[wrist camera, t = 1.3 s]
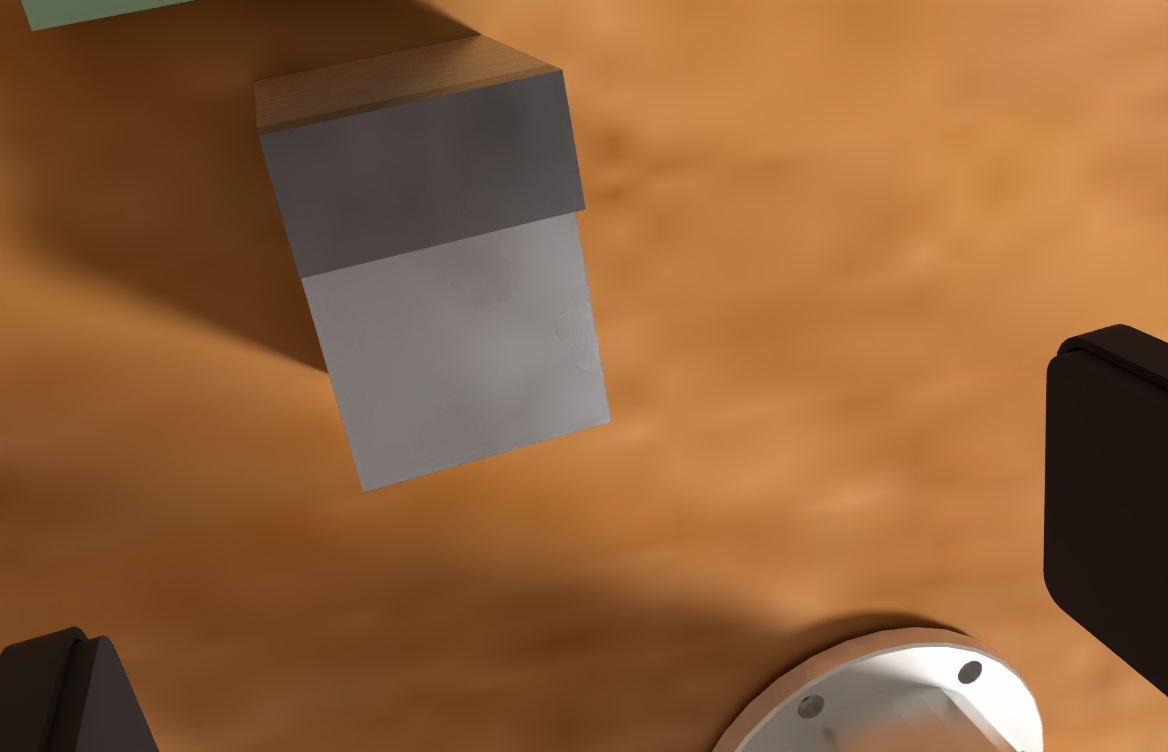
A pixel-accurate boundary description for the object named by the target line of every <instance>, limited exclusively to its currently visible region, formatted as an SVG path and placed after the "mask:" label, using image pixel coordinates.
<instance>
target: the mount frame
mask: <svg viewBox="0 0 1168 752" xmlns="http://www.w3.org/2000/svg"><path fill="white" fill-rule="evenodd" d="M188 1H193V0H21V2H22V5H23V8H24V10H25V13H26V16H27V19H28V21H29V24H30V27H31V30H32V31H36V30H41V29H46V28H52V27H57V26H62V25H67V24H73V23H78V22H83V21H88V20H94V19H99V18H104V17H109V16H115V15H120V14H125V13H130V12H136V11H141V10H146V9H151V8H157V7H162V6H167V5H172V4H177V3H183V2H188Z"/></svg>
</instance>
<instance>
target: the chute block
mask: <svg viewBox="0 0 1168 752" xmlns="http://www.w3.org/2000/svg"><path fill="white" fill-rule="evenodd" d="M253 85H254V97H255V108H256V120H257V132H258V138H259V142H260V145H261V148H262V152H263V155H264V159H265V162H266V166H267V169H268V173H269V176H270V179H271V183H272V186H273V190H274V193H275V197H276V200H277V203H278V207H279V210H280V214H281V217H282V221H283V224H284V227H285V231H286V234H287V238H288V241H289V245H290V248H291V252H292V255H293V258H294V262H295V265H296V269H297V272H298V276H299V279H301V280H302V284H303V287H304V291H305V294H306V298H307V301H308V304H309V308H310V311H311V315H312V318H313V322H314V325H315V329H316V332H317V335H318V339H319V342H320V346H321V349H322V353H323V356H324V360H325V363H326V366H327V370H328V373H329V377H330V380H331V384H332V387H333V391H334V394H335V398H336V401H337V404H338V408H339V411H340V415H341V418H342V422H343V425H344V429H345V432H346V435H347V439H348V442H349V446H350V449H351V453H352V456H353V460H354V463H355V466H356V470H357V473H358V477H359V480H360V484H361V487H362V491H363V492H367V491H370V490H374V489H377V488H381V487H384V486H388V485H391V484H395V483H398V482H402V481H405V480H409V479H412V478H416V477H419V476H423V475H426V474H430V473H433V472H437V471H440V470H444V469H447V468H451V467H455V466H458V465H462V464H465V463H469V462H472V461H476V460H479V459H483V458H486V457H490V456H493V455H497V454H500V453H504V452H507V451H511V450H514V449H518V448H521V447H525V446H528V445H532V444H535V443H539V442H542V441H546V440H549V439H553V438H556V437H560V436H563V435H567V434H570V433H574V432H577V431H581V430H584V429H588V428H591V427H595V426H598V425H602V424H605V423H609V422H611V418H610V412H609V406H608V401H607V395H606V389H605V383H604V377H603V371H602V366H601V360H600V354H599V348H598V342H597V336H596V330H595V325H594V319H593V313H592V307H591V301H590V295H589V290H588V284H587V278H586V272H585V266H584V260H583V254H582V249H581V243H580V237H579V231H578V225H577V219H576V214H575V212H576V211H581V210H585V203H584V197H583V191H582V185H581V179H580V173H579V167H578V161H577V155H576V149H575V143H574V137H573V131H572V125H571V119H570V113H569V107H568V101H567V95H566V89H565V83H564V77H563V71H562V70H561V69H559V68H557V67H555V66H552V65H550V64H548V63H546V62H543V61H541V60H539V59H536V58H534V57H532V56H530V55H527V54H525V53H523V52H521V51H518V50H516V49H514V48H512V47H509V46H507V45H505V44H502V43H500V42H498V41H496V40H493V39H491V38H489V37H487V36H484V35H482V34H481V35H476V36H471V37H466V38H461V39H456V40H452V41H447V42H442V43H437V44H432V45H427V46H423V47H418V48H413V49H408V50H403V51H398V52H394V53H389V54H384V55H379V56H374V57H370V58H365V59H360V60H355V61H350V62H345V63H341V64H336V65H331V66H326V67H321V68H316V69H312V70H307V71H302V72H297V73H292V74H287V75H283V76H278V77H273V78H268V79H263V80H258V81H254V82H253Z"/></svg>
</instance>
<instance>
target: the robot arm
mask: <svg viewBox="0 0 1168 752" xmlns="http://www.w3.org/2000/svg"><path fill="white" fill-rule="evenodd" d="M1043 572H1044V580H1045V583H1046V587H1047V589H1048V591H1049V593H1050V595H1051V597H1052V598H1053V600H1054V601H1055V603H1056V604H1057V605H1058V606H1059V607H1060V608H1061V609H1062V610H1063V611H1064V612H1066V613H1067V614H1068V615H1069V616H1070V617H1072V618H1073V619H1074V620H1075V621H1076V622H1078V623H1079V624H1080V625H1081V626H1083V627H1084V628H1085V629H1086V630H1087V631H1089V632H1090V633H1091V634H1092V635H1093V636H1095V637H1096V638H1097V639H1098V640H1099V641H1101V642H1102V643H1103V644H1104V645H1106V646H1107V647H1108V648H1109V649H1110V650H1112V651H1113V652H1114V653H1115V654H1116V655H1118V656H1119V657H1120V658H1121V659H1122V660H1124V661H1125V662H1126V663H1127V664H1129V665H1130V666H1131V667H1132V668H1133V669H1135V670H1136V671H1137V672H1138V673H1139V674H1141V675H1142V676H1143V677H1144V678H1146V679H1147V680H1148V681H1149V682H1150V683H1152V684H1153V685H1154V686H1155V687H1156V688H1158V689H1159V690H1160V691H1161V692H1162V693H1164V694H1165V695H1166V696H1167V697H1168V343H1167V342H1164V341H1162V340H1160V339H1158V338H1155V337H1153V336H1151V335H1149V334H1146V333H1144V332H1142V331H1139V330H1137V329H1135V328H1133V327H1130V326H1127V325H1123V324H1117V325H1113V326H1109V327H1105V328H1102V329H1099V330H1095V331H1092V332H1088V333H1085V334H1081V335H1078V336H1074V337H1071V338H1068V339H1066V340H1065V341H1064V342H1063V343H1062V344H1061V346H1060V348H1059V350H1058V352H1057V356H1055V357H1054V358H1053V359H1052V360H1051V361H1050V363H1049V365H1048V368H1047V383H1046V445H1045V506H1044V568H1043ZM1043 747H1044V742H1043V728H1042V718H1041V715H1040V712H1039V709H1038V706H1037V703H1036V700H1035V697H1034V695H1033V693H1032V692H1031V690H1030V689H1029V688H1028V686H1027V685H1026V683H1025V682H1024V680H1023V679H1022V677H1021V676H1020V675H1019V674H1018V673H1017V672H1016V671H1015V670H1014V669H1013V668H1012V667H1011V666H1010V665H1009V664H1008V663H1007V662H1006V661H1005V660H1004V659H1003V658H1002V657H1001V656H1000V655H998V654H997V653H996V652H995V651H994V650H992V649H990V648H989V647H987V646H986V645H984V644H982V643H981V642H979V641H977V640H976V639H974V638H972V637H969V636H965V635H962V634H959V633H956V632H953V631H949V630H946V629H933V628H921V627H911V628H902V629H893V630H884V631H879V632H876V633H872V634H869V635H865V636H862V637H858V638H855V639H851V640H848V641H845V642H843V643H841V644H839V645H836V646H834V647H832V648H830V649H828V650H826V651H823V652H821V653H819V654H817V655H815V656H812V657H811V658H809V659H808V660H806V661H804V662H803V663H801V664H800V665H798V666H797V667H795V668H794V669H792V670H790V671H789V672H787V673H786V674H784V675H783V676H781V677H780V678H778V679H777V680H776V681H775V682H774V683H772V684H771V685H770V686H769V687H768V688H767V689H766V690H764V691H763V692H762V693H761V694H760V695H759V696H757V697H756V698H755V699H754V700H753V701H752V702H750V703H749V705H748V706H747V707H746V708H745V709H744V710H743V711H742V713H741V714H740V715H739V716H738V717H737V718H736V719H735V721H734V722H733V723H732V724H731V725H730V726H729V728H728V729H727V730H726V731H725V732H724V734H723V735H722V737H721V738H720V740H719V742H718V743H717V745H716V746H715V748H714V749H713V751H712V752H1043ZM0 752H159V750H158V748H157V746H156V743H155V741H154V739H153V736H152V734H151V732H150V729H149V727H148V724H147V722H146V720H145V717H144V715H143V713H142V710H141V708H140V706H139V703H138V701H137V699H136V696H135V694H134V692H133V689H132V687H131V685H130V682H129V680H128V678H127V675H126V673H125V671H124V668H123V666H122V664H121V661H120V659H119V657H118V654H117V652H116V650H115V648H114V646H113V644H112V642H111V641H110V640H109V638H108V637H106V636H104V635H103V636H100V637H96V638H93V639H90V640H88V638H87V637H86V635H85V634H84V633H83V631H82V630H81V629H79V628H77V627H71V628H68V629H64V630H61V631H57V632H54V633H51V634H47V635H44V636H40V637H37V638H33V639H30V640H26V641H23V642H20V643H16V644H13V645H10V646H7V647H5V648H4V650H3V652H2V653H1V655H0Z"/></svg>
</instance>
